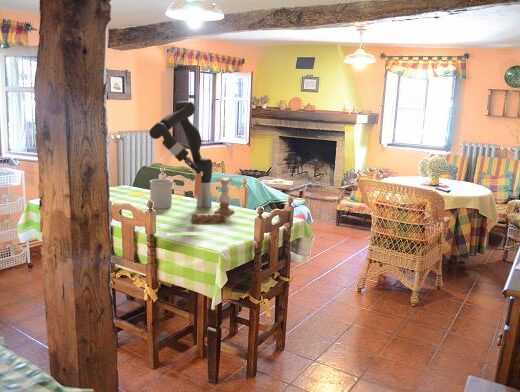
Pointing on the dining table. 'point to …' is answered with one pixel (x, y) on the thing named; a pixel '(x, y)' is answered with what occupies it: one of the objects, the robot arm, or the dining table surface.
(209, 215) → the offcut block
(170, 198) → the utensil holder
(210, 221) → the rack
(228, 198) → the candle holder
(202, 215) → the offcut block
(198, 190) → the slat
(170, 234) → the dining table surface
